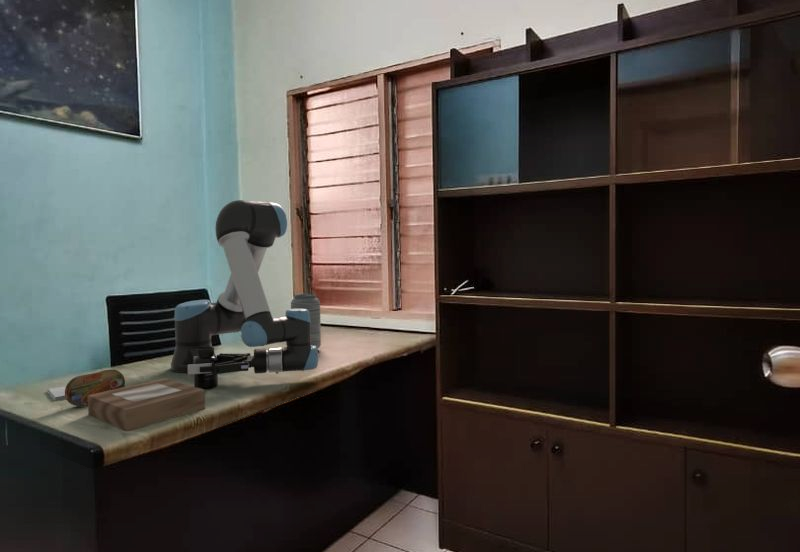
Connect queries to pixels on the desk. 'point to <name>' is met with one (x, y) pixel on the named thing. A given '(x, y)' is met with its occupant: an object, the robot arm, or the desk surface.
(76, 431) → the desk surface
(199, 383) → the supplement bottle
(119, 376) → the tin
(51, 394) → the hard drive
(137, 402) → the plinth
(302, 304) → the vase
